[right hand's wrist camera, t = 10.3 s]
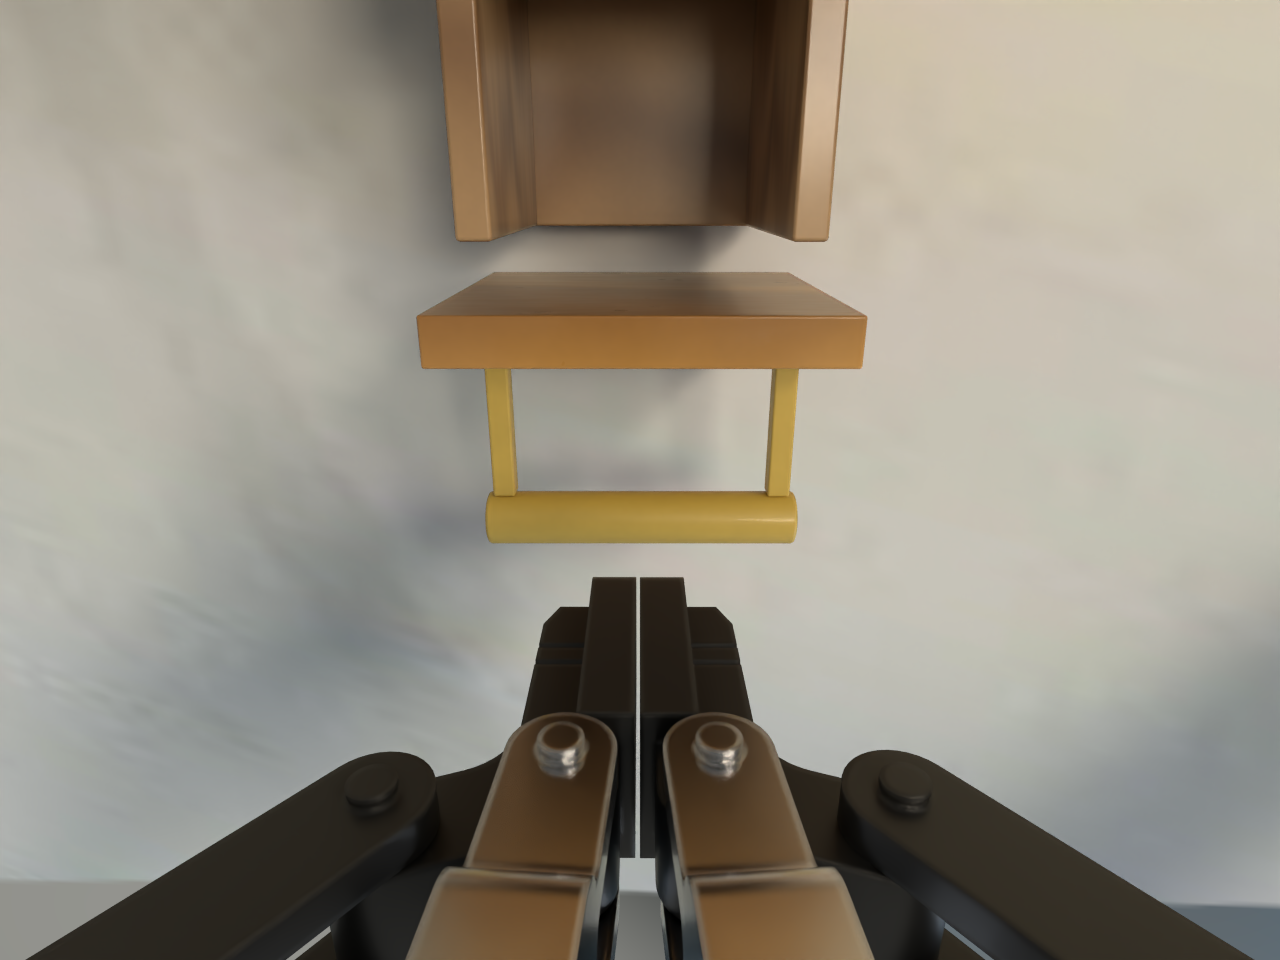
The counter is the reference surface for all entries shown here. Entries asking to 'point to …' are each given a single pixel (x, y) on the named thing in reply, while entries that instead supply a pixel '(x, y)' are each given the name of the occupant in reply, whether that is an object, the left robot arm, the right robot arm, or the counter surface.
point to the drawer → (641, 223)
